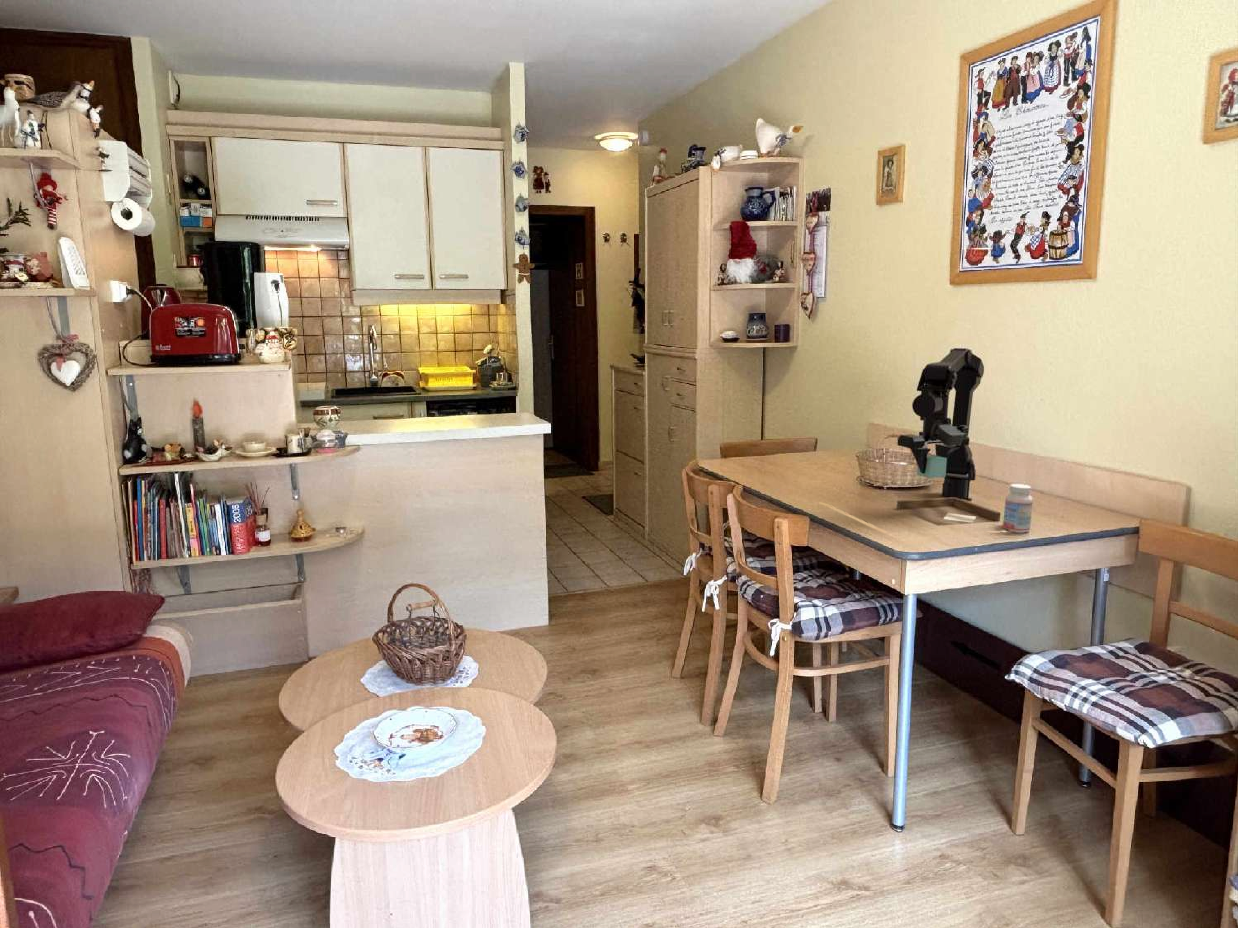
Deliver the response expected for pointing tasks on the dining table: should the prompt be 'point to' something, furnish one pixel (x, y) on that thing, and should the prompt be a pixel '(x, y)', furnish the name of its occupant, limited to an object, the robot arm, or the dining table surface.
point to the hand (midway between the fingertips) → (931, 472)
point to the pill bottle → (1018, 509)
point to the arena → (948, 511)
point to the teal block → (934, 467)
